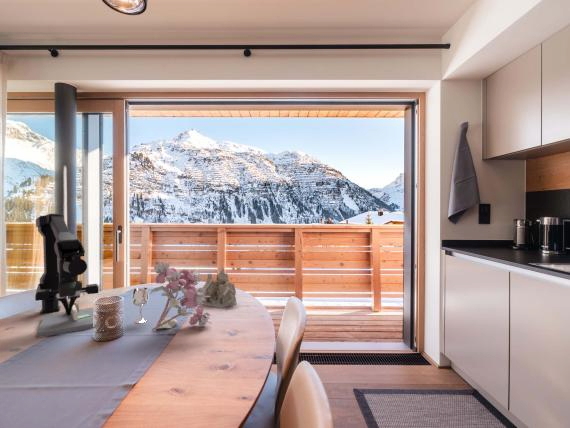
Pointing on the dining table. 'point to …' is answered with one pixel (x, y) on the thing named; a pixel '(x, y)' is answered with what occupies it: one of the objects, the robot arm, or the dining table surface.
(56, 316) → the dial plate
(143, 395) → the dining table surface
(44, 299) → the robot arm
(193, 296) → the flower
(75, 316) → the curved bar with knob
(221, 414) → the dining table surface
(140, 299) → the wineglass
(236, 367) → the dining table surface
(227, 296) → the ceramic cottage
